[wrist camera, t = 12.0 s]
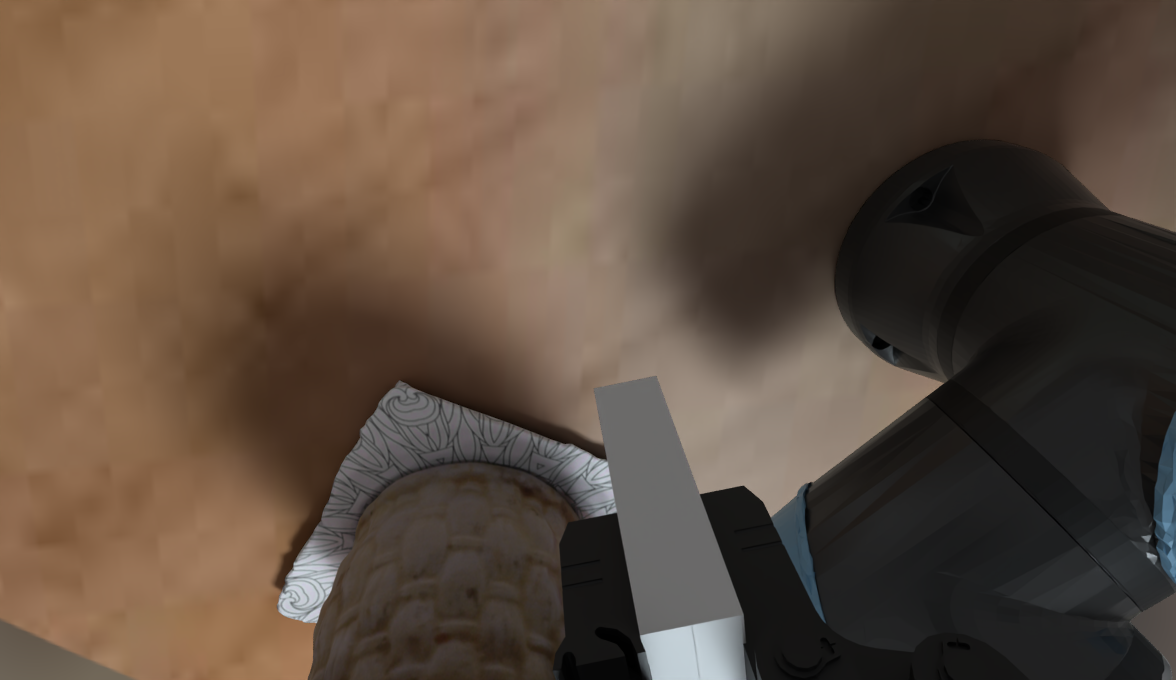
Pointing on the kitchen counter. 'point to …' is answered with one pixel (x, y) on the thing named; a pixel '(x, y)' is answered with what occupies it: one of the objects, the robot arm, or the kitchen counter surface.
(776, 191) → the kitchen counter surface
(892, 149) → the kitchen counter surface
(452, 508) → the cookie jar
